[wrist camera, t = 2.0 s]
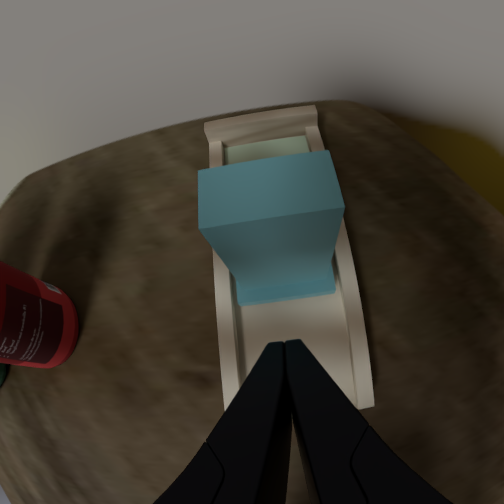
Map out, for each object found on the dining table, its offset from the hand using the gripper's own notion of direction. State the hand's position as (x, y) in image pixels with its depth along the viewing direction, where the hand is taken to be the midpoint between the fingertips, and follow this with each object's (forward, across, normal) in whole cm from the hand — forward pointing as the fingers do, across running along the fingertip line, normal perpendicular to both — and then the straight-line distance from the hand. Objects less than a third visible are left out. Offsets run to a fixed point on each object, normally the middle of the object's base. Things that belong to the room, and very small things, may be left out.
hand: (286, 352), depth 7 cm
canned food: (+11, +21, +7) cm, 25 cm away
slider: (+12, 0, +4) cm, 12 cm away
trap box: (+14, 0, +4) cm, 14 cm away
